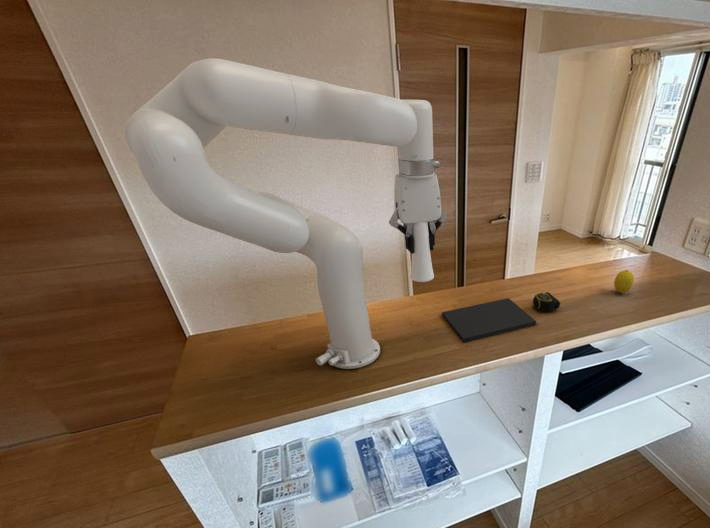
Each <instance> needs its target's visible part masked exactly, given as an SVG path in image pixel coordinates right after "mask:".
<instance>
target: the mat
mask: <svg viewBox="0 0 710 528" xmlns="http://www.w3.org/2000/svg"><path fill="white" fill-rule="evenodd" d="M441 316H442V317H443V319H444V320H445V321H446V323H447V324H448V325H449V326H450V327H451V329H452V330H453V331H454V332H455V334H456V335H457V336H458V338H459V339H460V340H461V341H462V343H467V342H471V341H475V340H479V339H483V338H484V339H485V338H488V337H491V336H495V335H500V334H504V333H507V332H512V331H516V330H519V329H524V328H528V327H531V326H536V323H537V320H535V319H534V318H533V317H532V316H531V315H530V314H529V313H528V312H526V311H525V310H524V309H522V308H521V307H520V306H519V305H517V303H515V302H514V301H513V300H512V299H511V298H509V297H507V298H503V299H498V300H494V301H493V300H492V301H488V302H484V303H478V304H474V305H470V306H465V307H459V308H456V309H455V308H454V309H450V310H446V311H441Z"/></svg>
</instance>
